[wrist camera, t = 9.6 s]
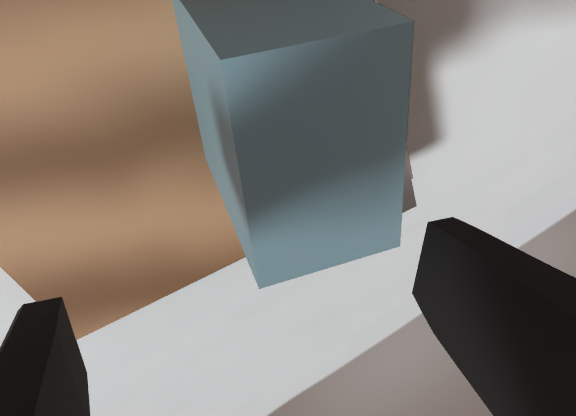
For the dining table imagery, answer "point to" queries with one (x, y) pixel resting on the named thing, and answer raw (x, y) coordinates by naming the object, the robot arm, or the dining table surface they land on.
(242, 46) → the carton
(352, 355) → the dining table surface
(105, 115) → the price rail shelf
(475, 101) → the dining table surface
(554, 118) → the dining table surface
